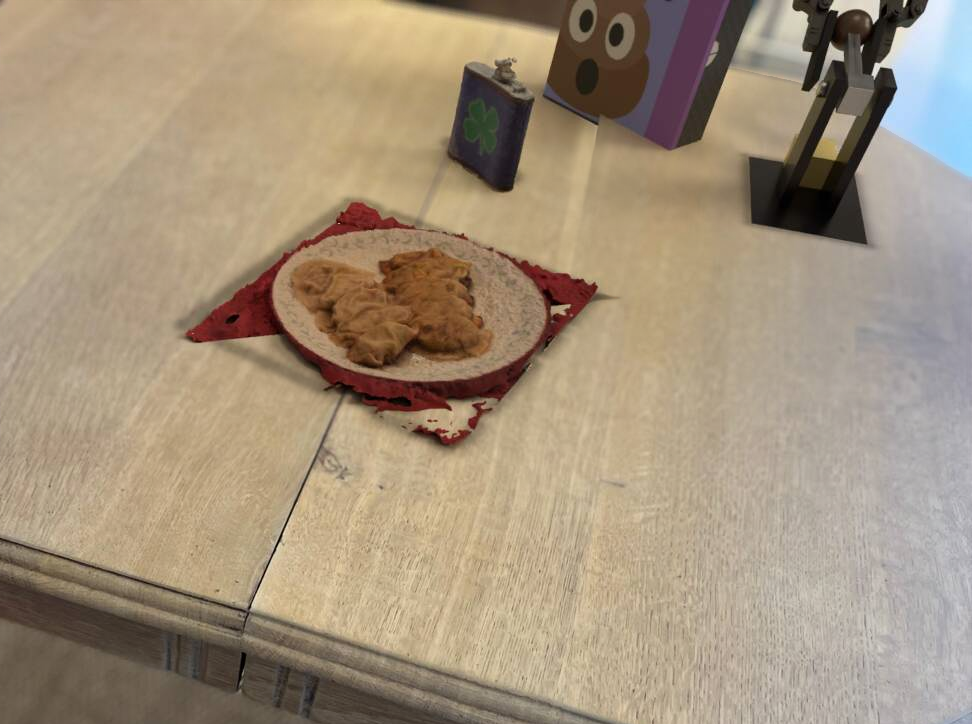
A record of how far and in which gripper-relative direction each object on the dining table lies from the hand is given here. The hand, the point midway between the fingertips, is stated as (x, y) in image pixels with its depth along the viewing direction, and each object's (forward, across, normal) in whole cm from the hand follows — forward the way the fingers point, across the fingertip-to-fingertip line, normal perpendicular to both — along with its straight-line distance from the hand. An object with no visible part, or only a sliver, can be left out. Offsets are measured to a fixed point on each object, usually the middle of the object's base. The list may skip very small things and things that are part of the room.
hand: (834, 88), depth 100 cm
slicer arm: (0, 0, +2) cm, 2 cm away
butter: (+8, 0, -2) cm, 8 cm away
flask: (+15, +30, +3) cm, 34 cm away
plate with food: (+35, +33, +23) cm, 53 cm away
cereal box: (+3, +18, -9) cm, 20 cm away
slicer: (+12, 0, 0) cm, 12 cm away
